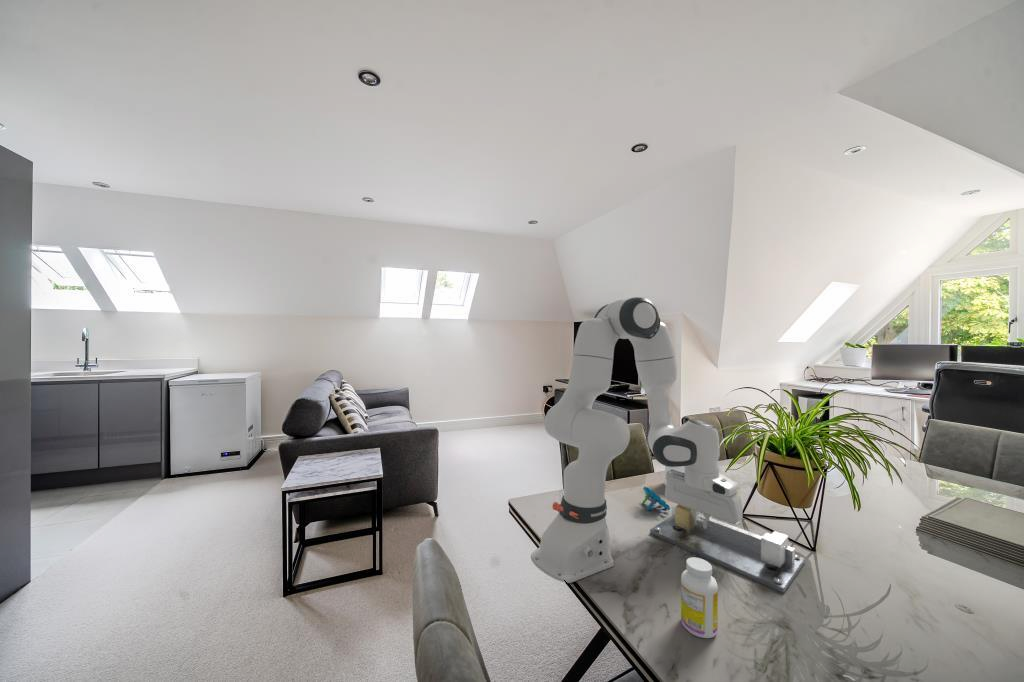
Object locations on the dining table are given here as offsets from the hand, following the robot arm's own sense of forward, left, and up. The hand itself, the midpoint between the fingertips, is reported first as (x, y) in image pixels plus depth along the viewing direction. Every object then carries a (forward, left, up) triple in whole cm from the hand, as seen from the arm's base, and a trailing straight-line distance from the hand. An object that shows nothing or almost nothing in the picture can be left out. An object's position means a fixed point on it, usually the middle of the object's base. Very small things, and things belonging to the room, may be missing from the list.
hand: (700, 526), depth 105 cm
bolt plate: (+2, -5, -5) cm, 7 cm away
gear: (+9, +19, -5) cm, 22 cm away
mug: (+33, +23, -5) cm, 40 cm away
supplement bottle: (-32, -13, -5) cm, 35 cm away
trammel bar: (+2, -5, -3) cm, 6 cm away
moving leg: (+2, +5, -3) cm, 6 cm away
